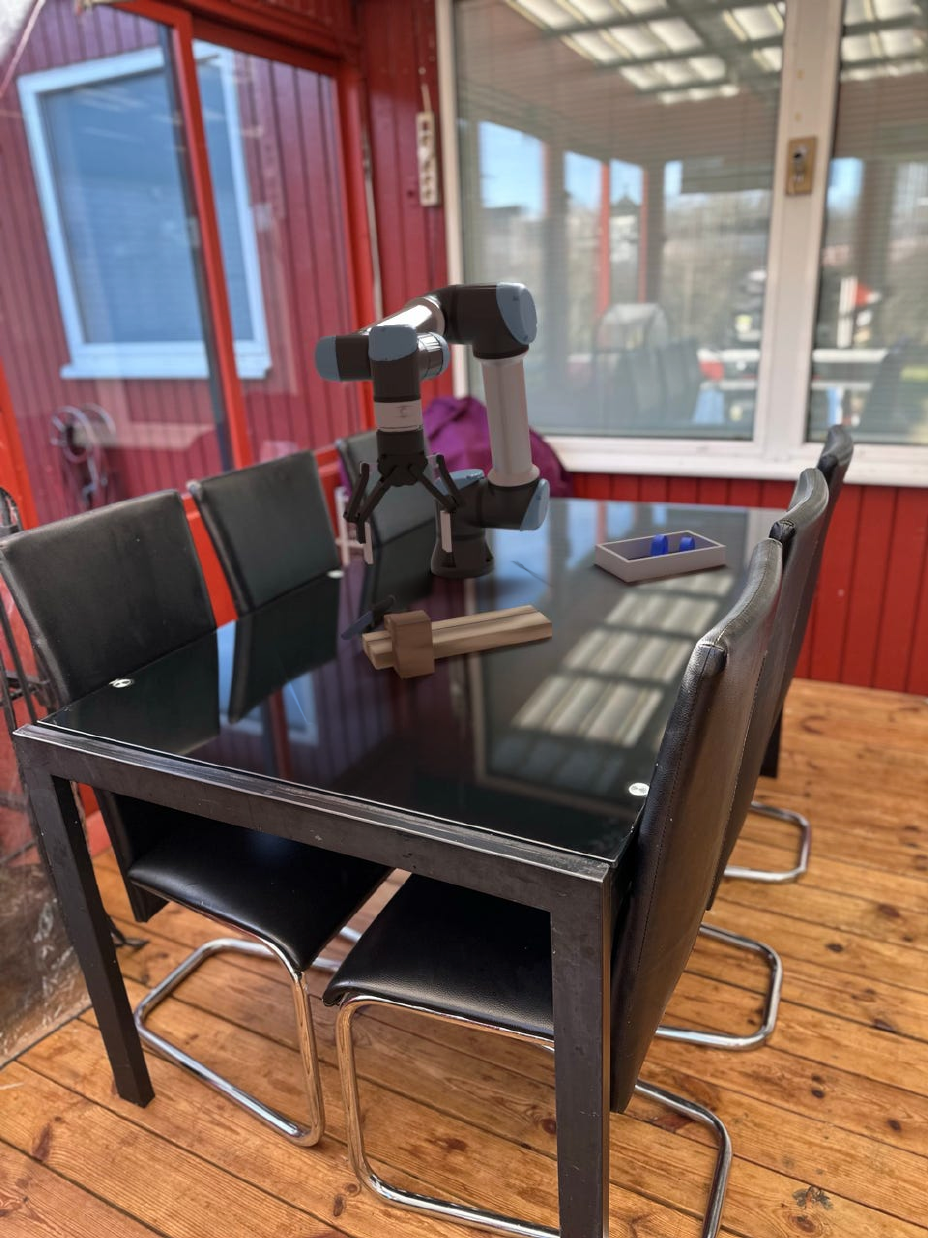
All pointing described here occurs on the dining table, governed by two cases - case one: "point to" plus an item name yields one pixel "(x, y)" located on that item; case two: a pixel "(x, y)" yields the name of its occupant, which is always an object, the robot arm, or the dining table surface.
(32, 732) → the dining table surface
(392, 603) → the knife
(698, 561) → the grey rectangular tray
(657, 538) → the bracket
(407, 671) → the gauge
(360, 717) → the dining table surface
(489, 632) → the board
